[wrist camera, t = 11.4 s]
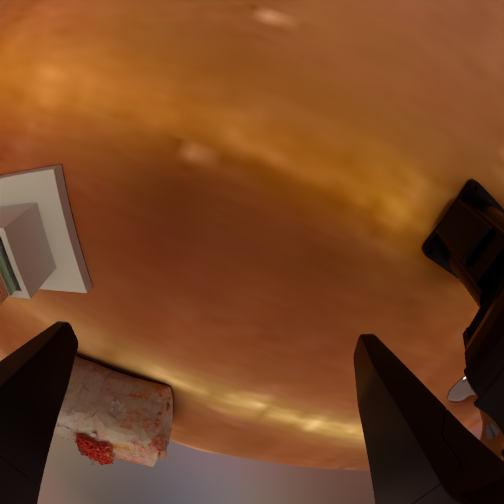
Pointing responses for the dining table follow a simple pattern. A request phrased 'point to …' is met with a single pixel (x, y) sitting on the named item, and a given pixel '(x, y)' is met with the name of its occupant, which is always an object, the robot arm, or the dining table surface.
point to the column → (5, 277)
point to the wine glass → (490, 430)
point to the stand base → (40, 233)
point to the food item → (115, 415)
